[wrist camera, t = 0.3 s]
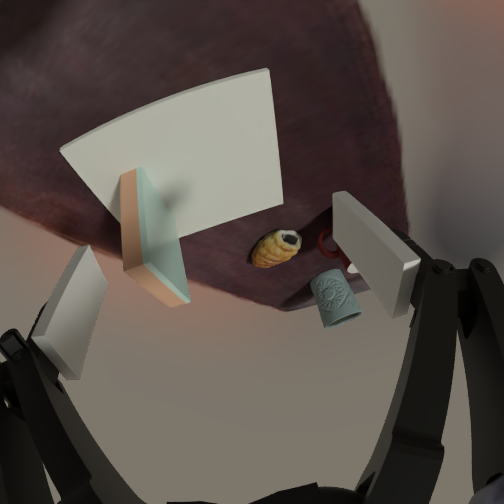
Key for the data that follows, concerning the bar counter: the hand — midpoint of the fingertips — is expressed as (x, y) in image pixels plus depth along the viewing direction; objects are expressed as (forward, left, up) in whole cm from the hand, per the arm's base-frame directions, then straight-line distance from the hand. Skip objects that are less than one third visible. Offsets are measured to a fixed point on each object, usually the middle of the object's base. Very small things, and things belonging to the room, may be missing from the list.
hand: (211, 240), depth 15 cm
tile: (+11, -7, -15) cm, 19 cm away
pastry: (+31, +6, -16) cm, 35 cm away
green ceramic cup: (+57, +18, -15) cm, 62 cm away
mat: (+10, -2, -15) cm, 18 cm away
